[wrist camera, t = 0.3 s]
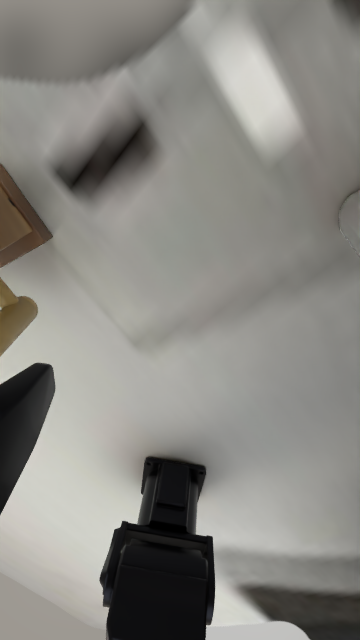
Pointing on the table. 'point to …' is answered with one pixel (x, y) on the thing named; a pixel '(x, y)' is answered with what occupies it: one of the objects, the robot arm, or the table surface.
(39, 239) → the door frame
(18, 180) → the table surface
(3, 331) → the door
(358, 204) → the milkshake
